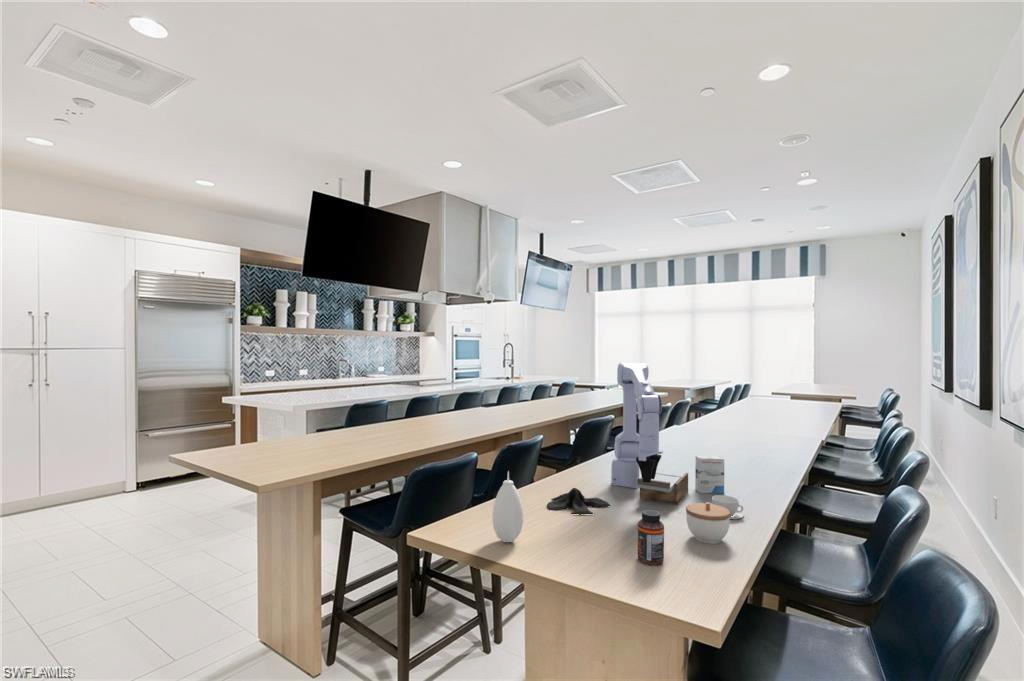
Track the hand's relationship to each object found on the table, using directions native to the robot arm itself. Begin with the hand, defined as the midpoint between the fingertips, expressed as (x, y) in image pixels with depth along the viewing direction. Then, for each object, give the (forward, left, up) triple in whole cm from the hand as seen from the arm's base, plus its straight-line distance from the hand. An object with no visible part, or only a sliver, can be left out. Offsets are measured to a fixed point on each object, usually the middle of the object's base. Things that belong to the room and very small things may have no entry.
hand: (648, 480), depth 152 cm
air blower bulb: (-24, -42, -10) cm, 49 cm away
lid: (0, +13, -4) cm, 13 cm away
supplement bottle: (+10, -34, -10) cm, 37 cm away
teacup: (+20, +10, -10) cm, 25 cm away
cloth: (-22, -6, -10) cm, 25 cm away
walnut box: (0, +19, -9) cm, 21 cm away
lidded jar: (+19, -13, -10) cm, 25 cm away
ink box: (+12, +32, -10) cm, 35 cm away
